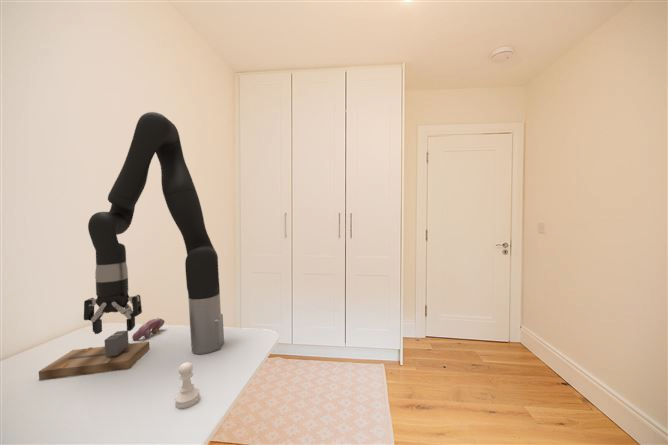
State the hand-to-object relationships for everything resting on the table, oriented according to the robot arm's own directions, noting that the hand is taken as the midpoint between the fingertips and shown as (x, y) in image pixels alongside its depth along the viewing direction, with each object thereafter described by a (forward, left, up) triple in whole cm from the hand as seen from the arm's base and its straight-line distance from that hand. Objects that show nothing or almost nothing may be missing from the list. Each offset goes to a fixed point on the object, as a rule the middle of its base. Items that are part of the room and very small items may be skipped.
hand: (114, 331), depth 82 cm
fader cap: (0, 0, -6) cm, 6 cm away
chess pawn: (-28, +25, -10) cm, 39 cm away
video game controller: (-1, -18, -10) cm, 21 cm away
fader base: (+5, 0, -9) cm, 10 cm away
